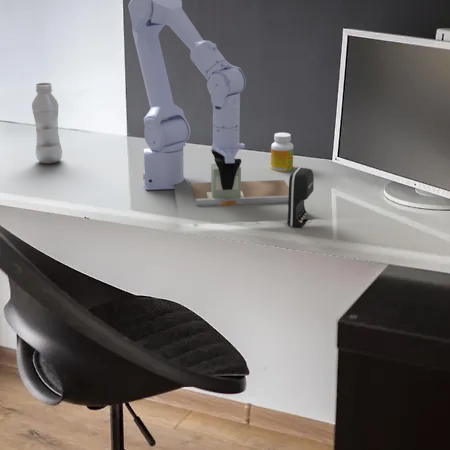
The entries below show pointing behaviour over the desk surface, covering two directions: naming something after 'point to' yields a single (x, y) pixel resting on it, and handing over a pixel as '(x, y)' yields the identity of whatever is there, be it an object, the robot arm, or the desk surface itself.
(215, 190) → the carton
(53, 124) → the plastic bottle
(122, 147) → the desk surface
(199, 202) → the shelf board
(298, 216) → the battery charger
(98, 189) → the desk surface
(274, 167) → the supplement bottle
